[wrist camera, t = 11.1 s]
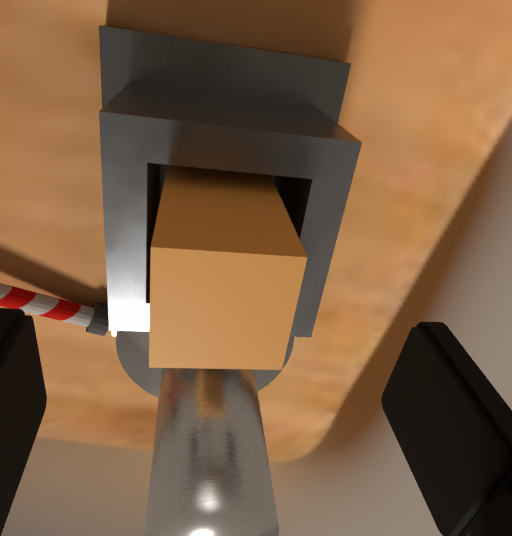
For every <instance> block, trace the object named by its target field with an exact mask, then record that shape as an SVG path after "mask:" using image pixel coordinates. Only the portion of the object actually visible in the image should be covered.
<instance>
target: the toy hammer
mask: <svg viewBox="0 0 512 536" xmlns="http://www.w3.org/2000/svg"><path fill="white" fill-rule="evenodd" d="M0 306H3V307H7V308H12V309H22V310H23V311H24V312H27V313H32V314H36V315H40V316H44V317H48V318H52V319H56V320H60V321H65V322H69V323H73V324H77V325H81V326H85V327H86V332H89V333H93V334H98V335H102V336H104V335H105V334H106V332H107V330H108V328H109V317H108V307H107V306H104V305H100V304H96V303H95V305H94V307H89V306H85V305H81V304H77V303H74V302H70V301H66V300H62V299H59V298H55V297H51V296H47V295H43V294H40V293H36V292H32V291H28V290H24V289H21V288H17V287H13V286H9V285H5V284H2V283H0Z"/></svg>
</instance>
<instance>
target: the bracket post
mask: <svg viewBox="0 0 512 536" xmlns="http://www.w3.org/2000/svg"><path fill="white" fill-rule="evenodd" d="M99 37H100V61H101V85H102V109H101V110H100V111H99V118H100V140H101V162H102V184H103V206H104V228H105V251H106V273H107V295H108V317H109V330H112V336H116V347H117V353H118V356H119V360H120V362H121V364H122V366H123V368H124V370H125V371H126V373H127V374H128V375H129V377H130V378H131V379H132V380H133V381H134V382H135V383H136V384H137V385H139V386H140V387H141V388H142V389H144V390H145V391H147V392H149V393H150V394H152V395H154V396H156V397H158V398H159V401H158V411H157V421H156V430H155V440H154V450H153V459H152V469H151V479H150V488H149V498H148V508H147V518H146V527H145V536H278V534H279V526H278V520H277V513H276V507H275V500H274V494H273V488H272V481H271V475H270V469H269V462H268V456H267V449H266V443H265V437H264V430H263V424H262V418H261V411H260V405H259V398H258V391H259V390H261V389H262V388H264V387H265V386H267V385H268V384H269V383H270V382H271V381H272V380H274V379H275V378H276V376H277V375H278V374H279V373H280V372H281V371H282V370H256V369H200V368H149V328H150V259H151V243H152V238H153V233H154V228H155V224H156V219H157V214H158V209H159V204H160V199H161V194H162V190H163V185H164V180H165V175H166V170H167V165H176V166H186V167H196V168H206V169H216V170H226V171H236V172H246V173H256V174H266V175H271V177H272V180H273V182H274V184H275V186H276V188H277V191H278V193H279V195H280V197H281V200H282V202H283V204H284V206H285V208H286V211H287V213H288V215H289V217H290V220H291V222H292V224H293V226H294V228H295V231H296V233H297V235H298V237H299V239H300V242H301V244H302V246H303V248H304V251H305V253H306V255H307V257H308V258H307V262H306V266H305V271H304V275H303V280H302V284H301V288H300V293H299V297H298V302H297V306H296V310H295V315H294V319H293V324H292V328H291V332H290V337H289V341H288V345H287V350H286V354H285V359H284V363H283V367H282V369H283V368H284V366H285V365H286V363H287V361H288V359H289V357H290V354H291V351H292V348H293V342H294V336H295V337H311V335H312V331H313V327H314V323H315V320H316V316H317V312H318V308H319V304H320V301H321V297H322V293H323V289H324V285H325V281H326V278H327V274H328V270H329V266H330V262H331V259H332V255H333V251H334V247H335V243H336V240H337V236H338V232H339V228H340V224H341V220H342V217H343V213H344V209H345V205H346V201H347V198H348V194H349V190H350V186H351V182H352V178H353V175H354V171H355V167H356V163H357V159H358V156H359V152H360V148H361V144H362V142H361V141H359V140H358V139H357V138H355V137H354V136H353V135H352V134H350V133H349V132H348V131H346V130H345V129H344V128H343V127H341V126H340V125H339V124H337V123H338V118H339V114H340V109H341V105H342V101H343V96H344V92H345V87H346V83H347V79H348V74H349V70H350V66H351V64H350V63H347V62H344V61H339V60H332V59H326V58H319V57H312V56H306V55H299V54H293V53H286V52H279V51H273V50H266V49H260V48H253V47H246V46H240V45H233V44H227V43H220V42H213V41H207V40H200V39H194V38H187V37H180V36H174V35H167V34H161V33H154V32H148V31H141V30H134V29H128V28H121V27H115V26H108V25H102V26H99Z"/></svg>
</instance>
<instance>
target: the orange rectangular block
mask: <svg viewBox="0 0 512 536" xmlns="http://www.w3.org/2000/svg"><path fill="white" fill-rule="evenodd" d="M307 258H308V257H307V255H306V253H305V251H304V248H303V246H302V244H301V242H300V239H299V237H298V235H297V233H296V231H295V228H294V226H293V224H292V222H291V220H290V217H289V215H288V213H287V211H286V208H285V206H284V204H283V202H282V200H281V197H280V195H279V193H278V191H277V188H276V186H275V184H274V182H273V180H272V177H271V175H266V174H256V173H246V172H236V171H226V170H216V169H206V168H196V167H186V166H176V165H167V170H166V175H165V180H164V185H163V190H162V194H161V199H160V204H159V209H158V214H157V219H156V224H155V228H154V233H153V238H152V243H151V259H150V328H149V368H200V369H256V370H282V367H283V363H284V359H285V354H286V350H287V345H288V341H289V337H290V332H291V328H292V324H293V319H294V315H295V310H296V306H297V302H298V297H299V293H300V288H301V284H302V280H303V275H304V271H305V266H306V262H307Z"/></svg>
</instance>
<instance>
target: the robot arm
mask: <svg viewBox="0 0 512 536" xmlns="http://www.w3.org/2000/svg"><path fill="white" fill-rule="evenodd" d="M381 401H382V407H383V410H384V412H385V414H386V417H387V419H388V421H389V423H390V425H391V427H392V430H393V432H394V434H395V436H396V438H397V440H398V443H399V445H400V447H401V449H402V451H403V454H404V456H405V458H406V460H407V462H408V464H409V467H410V469H411V471H412V473H413V475H414V477H415V480H416V482H417V484H418V486H419V488H420V490H421V493H422V495H423V497H424V499H425V501H426V503H427V506H428V508H429V510H430V512H431V514H432V517H433V519H434V521H435V523H436V525H437V528H438V529H439V531H440V533H441V534H442V535H443V536H512V410H511V409H510V408H509V407H508V405H507V404H506V403H505V401H504V400H503V399H502V397H501V396H500V395H499V393H498V392H497V391H496V390H495V388H494V387H493V386H492V384H491V383H490V382H489V380H488V379H487V378H486V376H485V375H484V374H483V373H482V371H481V370H480V369H479V367H478V366H477V365H476V363H475V362H474V361H473V360H472V358H471V357H470V356H469V354H468V353H467V352H466V350H465V349H464V348H463V346H462V345H461V344H460V343H459V341H458V340H457V339H456V337H455V336H454V335H453V334H452V332H451V331H450V330H449V328H448V327H447V326H446V325H445V324H444V323H442V322H420V323H419V324H417V326H416V327H413V328H412V329H411V331H410V333H409V335H408V337H407V340H406V342H405V344H404V347H403V349H402V351H401V353H400V356H399V358H398V360H397V362H396V365H395V367H394V369H393V371H392V374H391V376H390V378H389V381H388V383H387V386H386V388H385V390H384V392H383V394H382V400H381ZM46 402H47V397H46V390H45V384H44V379H43V373H42V367H41V362H40V356H39V350H38V345H37V339H36V333H35V327H34V322H33V318H32V316H29V315H25V314H24V311H23V310H22V309H12V308H0V536H1V533H2V531H3V528H4V525H5V522H6V519H7V517H8V514H9V511H10V508H11V505H12V502H13V499H14V497H15V494H16V491H17V488H18V486H19V483H20V480H21V477H22V474H23V471H24V469H25V466H26V463H27V460H28V457H29V455H30V452H31V449H32V446H33V443H34V440H35V438H36V435H37V432H38V429H39V426H40V424H41V421H42V418H43V415H44V412H45V408H46Z"/></svg>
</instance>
